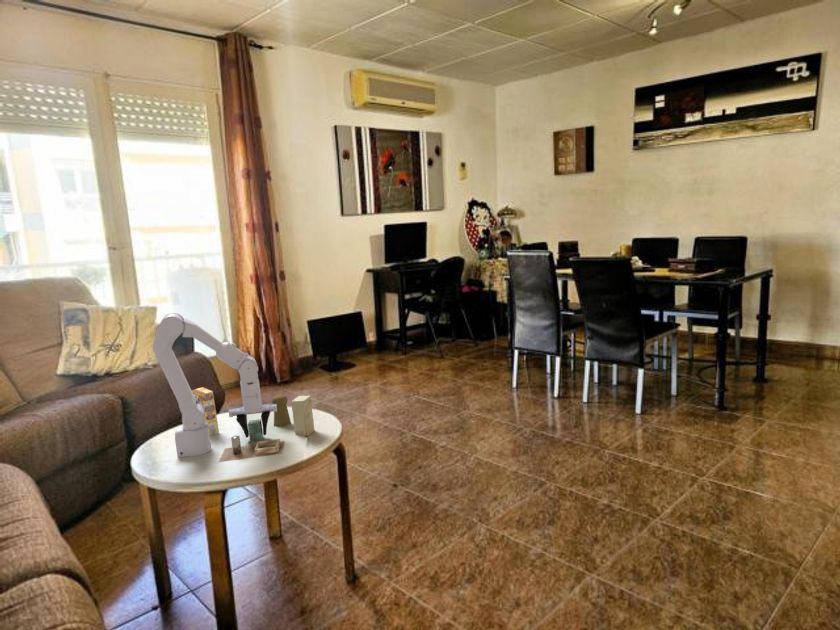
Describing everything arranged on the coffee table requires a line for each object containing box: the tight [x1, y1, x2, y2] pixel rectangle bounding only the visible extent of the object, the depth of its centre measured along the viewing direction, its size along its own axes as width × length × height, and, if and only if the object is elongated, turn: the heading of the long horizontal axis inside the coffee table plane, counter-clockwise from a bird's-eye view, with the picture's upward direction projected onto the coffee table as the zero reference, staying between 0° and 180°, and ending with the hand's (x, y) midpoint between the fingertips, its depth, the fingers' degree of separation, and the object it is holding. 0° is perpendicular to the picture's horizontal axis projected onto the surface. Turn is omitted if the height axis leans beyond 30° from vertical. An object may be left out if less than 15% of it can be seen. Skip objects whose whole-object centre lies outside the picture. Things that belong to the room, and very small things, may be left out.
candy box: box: [191, 387, 220, 436], centre depth 184 cm, size 9×4×15 cm, turn 44°
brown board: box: [218, 438, 285, 463], centre depth 164 cm, size 18×10×2 cm, turn 100°
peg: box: [247, 418, 264, 443], centre depth 173 cm, size 4×4×7 cm
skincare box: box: [290, 395, 315, 438], centre depth 178 cm, size 6×4×12 cm
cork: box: [271, 394, 292, 428], centre depth 186 cm, size 6×6×11 cm
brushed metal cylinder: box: [230, 435, 242, 455], centre depth 163 cm, size 2×2×5 cm
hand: (256, 435), depth 173 cm, fingers open, 5 cm apart
